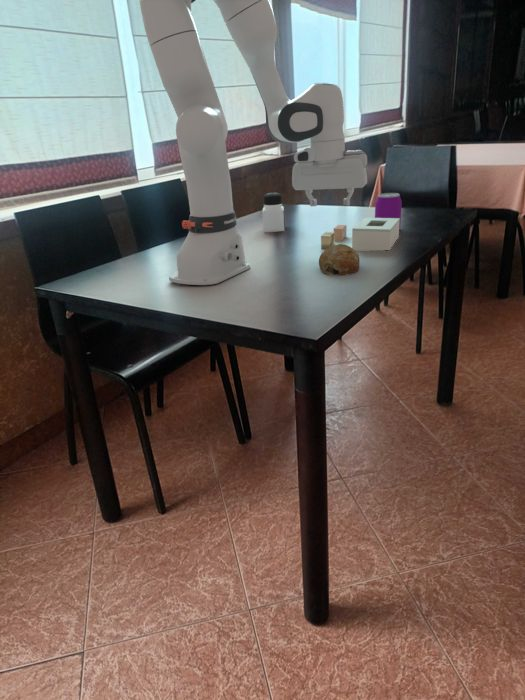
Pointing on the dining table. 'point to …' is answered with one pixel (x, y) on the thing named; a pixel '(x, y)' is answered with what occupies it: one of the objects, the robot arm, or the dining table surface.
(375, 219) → the box
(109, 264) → the dining table surface
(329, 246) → the maple token
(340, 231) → the salmon pink block
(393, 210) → the beverage can
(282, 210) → the medicine bottle
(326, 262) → the bread roll
